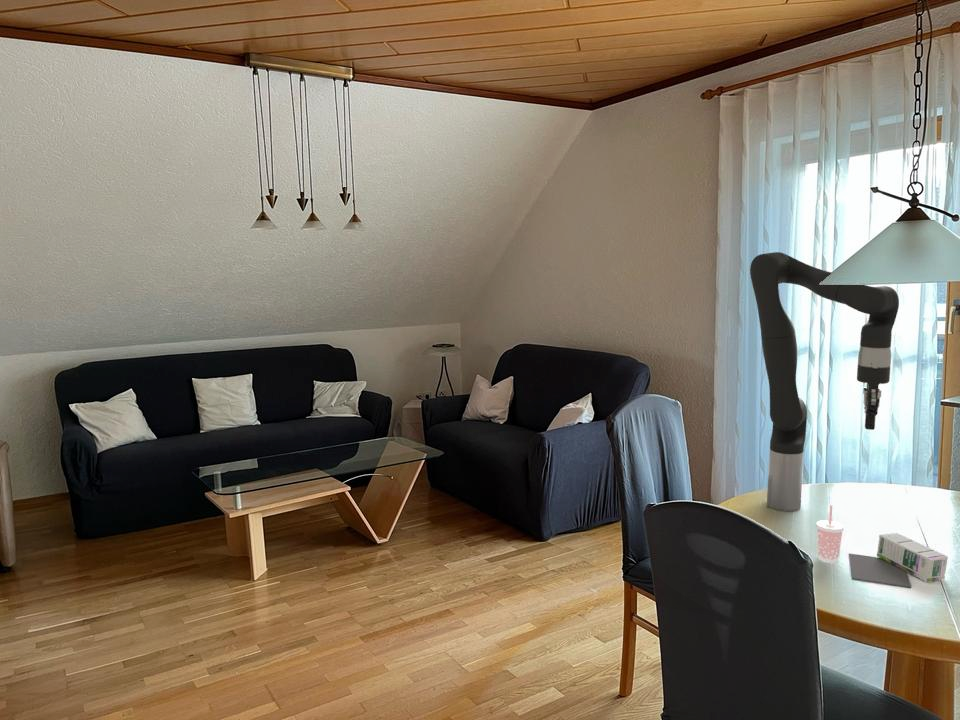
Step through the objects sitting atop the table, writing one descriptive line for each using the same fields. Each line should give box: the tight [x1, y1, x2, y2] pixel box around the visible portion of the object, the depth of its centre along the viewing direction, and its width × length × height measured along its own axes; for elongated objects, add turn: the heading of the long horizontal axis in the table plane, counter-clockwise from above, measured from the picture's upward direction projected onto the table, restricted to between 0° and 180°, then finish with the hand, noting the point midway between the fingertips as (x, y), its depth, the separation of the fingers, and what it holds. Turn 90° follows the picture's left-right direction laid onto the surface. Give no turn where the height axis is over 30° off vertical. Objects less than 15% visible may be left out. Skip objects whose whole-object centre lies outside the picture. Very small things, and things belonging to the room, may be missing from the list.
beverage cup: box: [816, 504, 845, 564], centre depth 181 cm, size 6×6×14 cm
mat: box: [848, 553, 912, 589], centre depth 176 cm, size 12×15×1 cm
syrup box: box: [876, 532, 949, 583], centre depth 176 cm, size 6×6×14 cm
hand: (869, 428), depth 193 cm, fingers closed
